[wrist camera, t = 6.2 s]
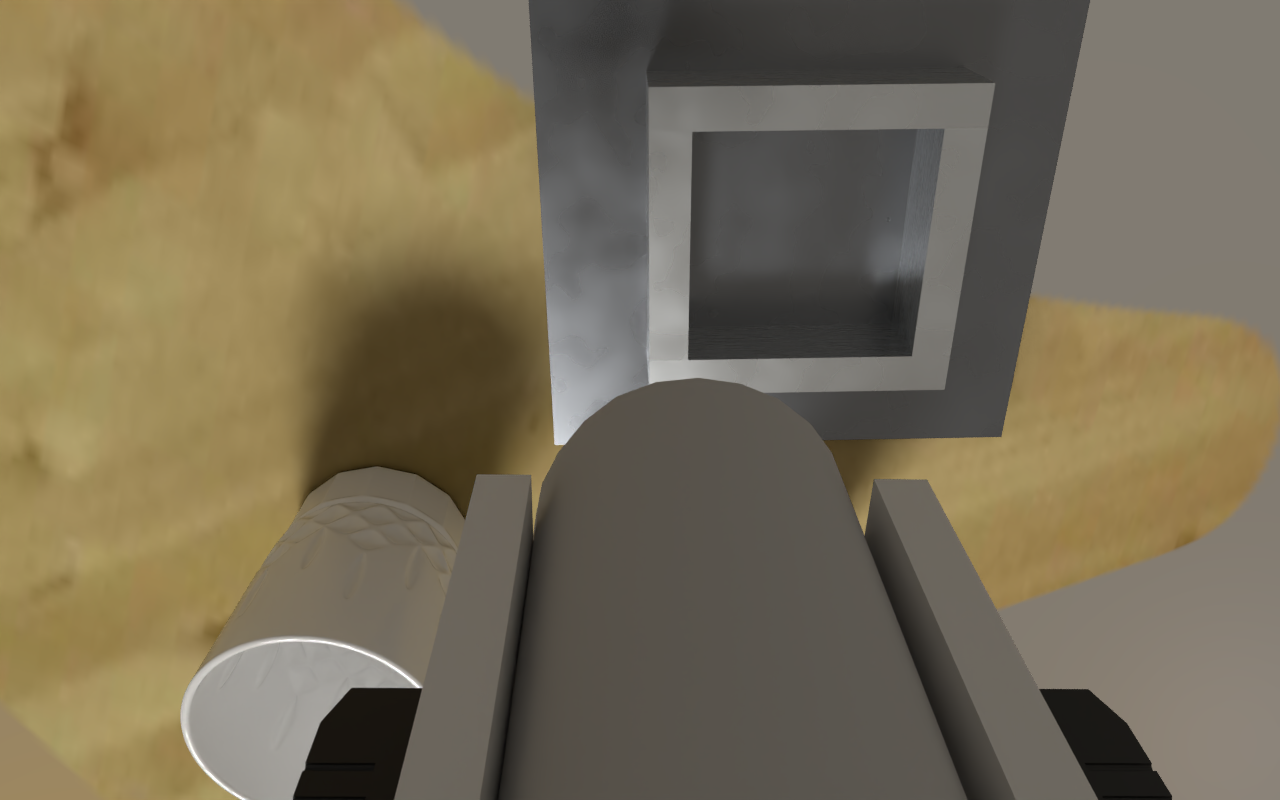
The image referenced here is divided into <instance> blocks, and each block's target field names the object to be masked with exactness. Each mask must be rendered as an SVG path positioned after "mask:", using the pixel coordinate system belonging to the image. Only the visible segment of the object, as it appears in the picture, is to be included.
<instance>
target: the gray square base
mask: <svg viewBox="0 0 1280 800" xmlns="http://www.w3.org/2000/svg"><path fill="white" fill-rule="evenodd" d="M1089 3H1090V0H529V13H530V30H531V47H532V64H533V82H534V99H535V116H536V133H537V150H538V167H539V184H540V201H541V218H542V235H543V253H544V270H545V287H546V304H547V321H548V338H549V355H550V372H551V389H552V406H553V423H554V440H555V445H565V444H566V443H567V441H568V440H569V439H570V438H571V437H572V435H573V434H574V433H575V432H576V430H577V429H578V428H579V427H580V426H581V424H582V423H583V422H584V421H585V420H586V419H588V418H589V417H590V416H592V415H593V414H594V413H595V412H597V411H598V410H599V409H601V408H602V407H603V406H605V405H606V404H607V403H609V402H610V401H611V400H613V399H614V398H615V397H617V396H619V395H622V394H625V393H628V392H630V391H633V390H636V389H638V388H641V387H644V386H647V385H649V384H652V383H655V382H661V381H671V380H681V379H691V378H704V379H711V380H718V381H725V382H732V383H739V384H743V385H745V386H748V387H750V388H753V389H755V390H758V391H760V392H763V393H765V394H767V395H770V396H772V397H775V398H777V399H779V400H780V401H782V402H783V403H784V404H786V405H787V406H788V407H790V408H791V409H792V410H793V411H795V412H796V413H797V414H799V415H800V416H801V417H803V418H804V419H805V420H807V421H808V422H809V423H810V424H811V425H812V426H813V428H814V429H815V430H816V432H817V433H818V435H819V436H820V437H821V439H822V440H854V439H909V438H964V437H1001V435H1002V430H1003V425H1004V420H1005V416H1006V411H1007V406H1008V401H1009V396H1010V391H1011V386H1012V381H1013V376H1014V371H1015V366H1016V362H1017V357H1018V352H1019V347H1020V342H1021V337H1022V332H1023V327H1024V322H1025V317H1026V312H1027V308H1028V303H1029V298H1030V293H1031V288H1032V283H1033V278H1034V273H1035V268H1036V263H1037V258H1038V253H1039V248H1040V243H1041V239H1042V233H1043V229H1044V223H1045V219H1046V214H1047V209H1048V204H1049V200H1050V194H1051V190H1052V185H1053V180H1054V175H1055V170H1056V165H1057V160H1058V154H1059V150H1060V146H1061V141H1062V136H1063V130H1064V126H1065V121H1066V116H1067V111H1068V106H1069V101H1070V96H1071V91H1072V87H1073V82H1074V77H1075V71H1076V67H1077V61H1078V57H1079V52H1080V47H1081V42H1082V38H1083V33H1084V28H1085V23H1086V18H1087V12H1088V8H1089Z"/></svg>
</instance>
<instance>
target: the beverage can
mask: <svg viewBox="0 0 1280 800" xmlns="http://www.w3.org/2000/svg"><path fill="white" fill-rule="evenodd" d="M498 800H967V797H966V794H965V792H964V789H963V787H962V784H961V782H960V779H959V777H958V774H957V771H956V769H955V766H954V764H953V761H952V759H951V756H950V754H949V751H948V748H947V746H946V743H945V741H944V738H943V736H942V733H941V731H940V728H939V725H938V723H937V720H936V718H935V715H934V713H933V710H932V708H931V705H930V702H929V700H928V697H927V695H926V692H925V690H924V687H923V685H922V682H921V679H920V677H919V674H918V672H917V669H916V667H915V664H914V661H913V659H912V656H911V654H910V651H909V649H908V646H907V644H906V641H905V638H904V636H903V633H902V631H901V628H900V626H899V623H898V621H897V618H896V615H895V613H894V610H893V608H892V605H891V603H890V600H889V598H888V595H887V592H886V590H885V587H884V585H883V582H882V580H881V577H880V575H879V572H878V569H877V567H876V564H875V562H874V559H873V557H872V554H871V552H870V549H869V546H868V544H867V541H866V539H865V536H864V534H863V531H862V529H861V526H860V523H859V521H858V518H857V516H856V513H855V511H854V508H853V505H852V503H851V500H850V498H849V495H848V493H847V490H846V488H845V485H844V482H843V480H842V477H841V475H840V472H839V470H838V467H837V465H836V462H835V459H834V457H833V454H832V452H831V451H830V450H829V448H828V447H827V445H826V444H825V443H824V441H823V440H822V439H821V437H820V436H819V435H818V433H817V432H816V430H815V429H814V428H813V426H812V425H811V424H810V423H809V422H808V421H807V420H805V419H804V418H803V417H801V416H800V415H799V414H797V413H796V412H795V411H793V410H792V409H791V408H790V407H788V406H787V405H786V404H784V403H783V402H782V401H780V400H779V399H777V398H775V397H772V396H770V395H767V394H765V393H763V392H760V391H758V390H755V389H753V388H750V387H748V386H745V385H743V384H739V383H732V382H725V381H718V380H711V379H704V378H691V379H681V380H671V381H661V382H655V383H652V384H649V385H647V386H644V387H641V388H638V389H636V390H633V391H630V392H628V393H625V394H622V395H619V396H617V397H615V398H614V399H613V400H611V401H610V402H609V403H607V404H606V405H605V406H603V407H602V408H601V409H599V410H598V411H597V412H595V413H594V414H593V415H592V416H590V417H589V418H588V419H586V420H585V421H584V422H583V423H582V424H581V426H580V427H579V428H578V429H577V430H576V432H575V433H574V434H573V435H572V437H571V438H570V439H569V440H568V441H567V443H566V444H565V445H564V446H563V447H562V449H561V450H560V451H559V452H558V454H557V456H556V458H555V460H554V462H553V464H552V466H551V468H550V470H549V472H548V473H547V475H546V477H545V479H544V481H543V483H542V487H541V492H540V498H539V503H538V508H537V513H536V519H535V527H534V534H533V547H532V555H531V562H530V569H529V577H528V584H527V591H526V599H525V606H524V613H523V621H522V628H521V635H520V643H519V650H518V657H517V664H516V672H515V679H514V686H513V694H512V701H511V708H510V715H509V723H508V730H507V737H506V745H505V752H504V759H503V766H502V773H501V780H500V787H499V795H498Z"/></svg>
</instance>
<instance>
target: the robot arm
mask: <svg viewBox="0 0 1280 800" xmlns="http://www.w3.org/2000/svg"><path fill="white" fill-rule="evenodd" d="M865 539H866V541H867V544H868V546H869V549H870V552H871V554H872V557H873V559H874V562H875V564H876V567H877V569H878V572H879V575H880V577H881V580H882V582H883V585H884V587H885V590H886V592H887V595H888V598H889V600H890V603H891V605H892V608H893V610H894V613H895V615H896V618H897V621H898V623H899V626H900V628H901V631H902V633H903V636H904V638H905V641H906V644H907V646H908V649H909V651H910V654H911V656H912V659H913V661H914V664H915V667H916V669H917V672H918V674H919V677H920V679H921V682H922V685H923V687H924V690H925V692H926V695H927V697H928V700H929V702H930V705H931V708H932V710H933V713H934V715H935V718H936V720H937V723H938V725H939V728H940V731H941V733H942V736H943V738H944V741H945V743H946V746H947V748H948V751H949V754H950V756H951V759H952V761H953V764H954V766H955V769H956V771H957V774H958V777H959V779H960V782H961V784H962V787H963V789H964V792H965V794H966V797H967V800H1172V795H1171V794H1170V792H1169V790H1168V789H1167V787H1166V786H1165V784H1164V782H1163V781H1162V779H1161V778H1160V776H1159V774H1158V773H1157V771H1153V770H1152V767H1151V764H1152V763H1151V761H1150V760H1149V758H1148V757H1147V755H1146V753H1145V752H1144V750H1143V749H1142V747H1141V745H1140V744H1139V742H1138V740H1137V739H1136V737H1135V736H1134V734H1133V732H1132V731H1131V730H1130V728H1129V726H1128V725H1127V723H1126V722H1125V721H1124V720H1122V719H1121V718H1120V717H1119V716H1118V715H1117V714H1116V713H1114V712H1113V711H1112V710H1111V709H1110V708H1109V707H1108V706H1107V705H1105V704H1104V703H1103V702H1102V701H1101V700H1100V699H1099V698H1097V697H1096V696H1095V695H1094V694H1093V693H1092V692H1091V691H1090V690H1088V689H1038V686H1037V684H1036V683H1035V681H1034V679H1033V677H1032V675H1031V674H1030V671H1029V670H1028V668H1027V666H1026V664H1025V662H1024V660H1023V658H1022V657H1021V655H1020V653H1019V651H1018V649H1017V647H1016V645H1015V644H1014V642H1013V640H1012V638H1011V636H1010V634H1009V632H1008V630H1007V629H1006V627H1005V625H1004V623H1003V621H1002V619H1001V617H1000V615H999V613H998V612H997V610H996V608H995V606H994V604H993V602H992V600H991V599H990V597H989V595H988V593H987V591H986V589H985V587H984V585H983V584H982V582H981V580H980V578H979V576H978V574H977V572H976V570H975V569H974V567H973V565H972V563H971V561H970V559H969V557H968V556H967V554H966V552H965V550H964V548H963V546H962V544H961V542H960V541H959V539H958V537H957V535H956V533H955V531H954V529H953V527H952V526H951V524H950V522H949V520H948V518H947V516H946V514H945V513H944V511H943V509H942V507H941V505H940V503H939V501H938V499H937V498H936V496H935V494H934V492H933V490H932V488H931V486H930V484H929V483H928V481H927V480H904V479H874V482H873V488H872V495H871V501H870V507H869V513H868V519H867V525H866V531H865ZM532 547H533V520H532V489H531V475H493V474H477V476H476V480H475V483H474V487H473V491H472V495H471V499H470V503H469V507H468V511H467V515H466V519H465V523H464V527H463V531H462V535H461V539H460V542H459V546H458V550H457V554H456V558H455V562H454V566H453V570H452V574H451V578H450V582H449V586H448V590H447V594H446V597H445V601H444V605H443V609H442V613H441V617H440V621H439V625H438V629H437V633H436V637H435V641H434V645H433V649H432V653H431V656H430V660H429V664H428V668H427V672H426V676H425V680H424V684H423V688H351V689H350V690H349V691H348V692H347V693H346V694H345V695H344V697H343V698H342V699H341V700H340V701H339V702H338V703H337V704H336V705H335V707H334V708H333V709H332V710H331V711H330V712H329V713H328V714H327V715H326V717H325V718H324V719H323V720H322V721H321V722H320V724H319V727H318V730H317V733H316V735H315V738H314V741H313V743H312V746H311V749H310V752H309V754H308V757H307V760H306V762H305V770H304V771H302V773H301V776H300V779H299V781H298V784H297V787H296V789H295V792H294V795H293V800H498V795H499V787H500V780H501V773H502V766H503V759H504V752H505V745H506V737H507V730H508V723H509V715H510V708H511V701H512V694H513V686H514V679H515V672H516V664H517V657H518V650H519V643H520V635H521V628H522V621H523V613H524V606H525V599H526V591H527V584H528V577H529V569H530V562H531V555H532Z"/></svg>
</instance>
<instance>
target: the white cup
mask: <svg viewBox="0 0 1280 800" xmlns="http://www.w3.org/2000/svg"><path fill="white" fill-rule="evenodd" d="M464 523H465V519H464V518H463V516H462V515H461V513H460V511H459V510H458V508H457V507H456V505H455V504H454V502H453V500H452V499H451V497H450V496H449V495H448V494H446V493H445V492H443V491H442V490H440V489H438V488H437V487H435V486H434V485H432V484H431V483H429V482H428V481H426V480H425V479H423V478H422V477H420V476H419V475H417V474H412V473H408V472H403V471H398V470H393V469H388V468H384V467H379V466H375V467H370V468H364V469H358V470H352V471H347V472H341V473H338V474H336V475H335V476H334V477H332V478H331V479H329V480H328V481H326V482H325V483H324V484H322V485H321V486H319V487H318V488H316V489H315V490H314V491H312V492H311V493H310V494H309V495H308V496H307V498H306V500H305V501H304V503H303V505H302V507H301V508H300V510H299V512H298V514H297V515H296V517H295V519H294V520H293V522H292V524H291V525H290V527H289V529H288V530H287V531H286V532H285V534H284V535H283V536H282V537H281V538H280V540H279V541H278V542H277V543H276V544H275V546H274V547H273V549H272V550H271V552H270V553H269V555H268V557H267V558H266V560H265V561H264V563H263V565H262V566H261V568H260V569H259V570H258V572H257V573H256V574H255V576H254V578H253V579H252V581H251V582H250V584H249V586H248V587H247V589H246V591H245V592H244V594H243V596H242V597H241V599H240V601H239V602H238V604H237V606H236V607H235V609H234V611H233V613H232V614H231V616H230V617H229V619H228V621H227V622H226V624H225V626H224V627H223V629H222V631H221V632H220V634H219V636H218V637H217V639H216V641H215V642H214V644H213V646H212V647H211V649H210V651H209V652H208V654H207V656H206V657H205V659H204V660H203V662H202V664H201V665H200V667H199V669H198V670H197V672H196V673H195V675H194V677H193V678H192V680H191V682H190V683H189V685H188V687H187V689H186V691H185V694H184V697H183V700H182V705H181V715H180V718H181V728H182V732H183V736H184V739H185V742H186V744H187V747H188V749H189V751H190V753H191V754H192V756H193V758H194V759H195V761H196V762H197V763H198V765H199V766H200V767H201V768H202V769H203V771H204V772H205V773H206V774H207V775H208V776H209V777H210V778H211V779H212V780H213V781H215V782H216V783H217V784H218V785H219V786H221V787H222V788H223V789H225V790H226V791H228V792H229V793H231V794H232V795H234V796H235V797H237V798H239V799H241V800H293V795H294V792H295V789H296V787H297V784H298V781H299V779H300V776H301V773H302V771H304V770H305V762H306V760H307V757H308V754H309V752H310V749H311V746H312V743H313V741H314V738H315V735H316V733H317V730H318V727H319V724H320V722H321V721H322V720H323V719H324V718H325V717H326V715H327V714H328V713H329V712H330V711H331V710H332V709H333V708H334V707H335V705H336V704H337V703H338V702H339V701H340V700H341V699H342V698H343V697H344V695H345V694H346V693H347V692H348V691H349V690H350V689H351V688H423V684H424V680H425V676H426V672H427V668H428V664H429V660H430V656H431V653H432V649H433V645H434V641H435V637H436V633H437V629H438V625H439V621H440V617H441V613H442V609H443V605H444V601H445V597H446V594H447V590H448V586H449V582H450V578H451V574H452V570H453V566H454V562H455V558H456V554H457V550H458V546H459V542H460V539H461V535H462V531H463V527H464Z"/></svg>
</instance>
